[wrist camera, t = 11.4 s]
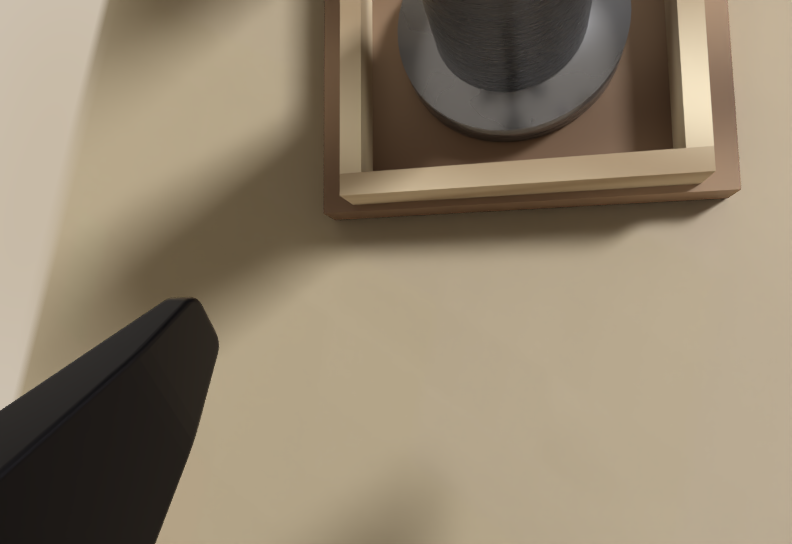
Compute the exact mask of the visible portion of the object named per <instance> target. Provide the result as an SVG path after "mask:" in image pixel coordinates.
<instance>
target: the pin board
mask: <svg viewBox="0 0 792 544" xmlns="http://www.w3.org/2000/svg"><path fill="white" fill-rule="evenodd" d="M401 4H402V0H325V44H324V214H325V215H327V216H329V217H331V218H333V219H334V220H342V219H360V218H378V217H396V216H414V215H432V214H450V213H468V212H486V211H504V210H522V209H540V208H559V207H577V206H595V205H613V204H631V203H649V202H667V201H685V200H703V199H721V198H729V197H730V196H732V195H733V194H735V193H736V192H738V191H739V190H741V180H740V166H739V152H738V138H737V124H736V111H735V97H734V83H733V69H732V55H731V41H730V27H729V13H728V0H631V22H630V28H629V32H628V37H627V40H626V44H625V47H624V50H623V53H622V56H621V59H620V62H619V64H618V67H617V69H616V72H615V74H614V76H613V78H612V79H611V81H610V83H609V85H608V86H607V88H606V89H605V91H604V92H603V93H602V95H601V96H600V97H599V98H598V100H597V101H596V102H595V103H594V104H593V105H592V106H591V107H590V108H589V109H588V110H587V111H586V112H584V113H583V114H582V115H581V116H580V117H578V118H577V119H575V120H574V121H572V122H571V123H569V124H568V125H566V126H565V127H563V128H561V129H559V130H556V131H554V132H552V133H550V134H547V135H544V136H541V137H539V138H535V139H530V140H526V141H520V142H509V143H504V142H489V141H483V140H478V139H474V138H471V137H468V136H465V135H463V134H460V133H458V132H456V131H454V130H452V129H451V128H449V127H447V126H446V125H444V124H443V123H441V122H440V121H439V120H438V119H437V118H435V117H434V116H433V115H432V114H431V113H430V112H429V111H428V109H427V108H426V107H425V106H424V105H423V103H422V102H421V100H420V99H419V97H418V96H417V94H416V92H415V90H414V88H413V86H412V84H411V82H410V79H409V77H408V75H407V73H406V71H405V69H404V66H403V63H402V60H401V56H400V52H399V46H398V19H399V12H400V8H401Z"/></svg>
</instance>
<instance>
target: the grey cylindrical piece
mask: <svg viewBox="0 0 792 544" xmlns="http://www.w3.org/2000/svg"><path fill="white" fill-rule="evenodd" d="M630 22H631V0H402V4H401V8H400V12H399V19H398V46H399V52H400V56H401V60H402V63H403V66H404V69H405V71H406V73H407V75H408V77H409V79H410V82H411V84H412V86H413V88H414V90H415V92H416V94H417V96H418V97H419V99H420V100H421V102H422V103H423V105H424V106H425V107H426V108H427V109H428V111H429V112H430V113H431V114H432V115H433V116H434V117H435V118H437V119H438V120H439V121H440V122H441V123H443V124H444V125H446V126H447V127H449V128H451V129H452V130H454V131H456V132H458V133H460V134H463V135H465V136H468V137H471V138H474V139H478V140H483V141H489V142H504V143H509V142H520V141H526V140H530V139H535V138H539V137H541V136H544V135H547V134H550V133H552V132H554V131H556V130H559V129H561V128H563V127H565V126H566V125H568V124H569V123H571V122H572V121H574V120H575V119H577V118H578V117H580V116H581V115H582V114H583V113H584V112H586V111H587V110H588V109H589V108H590V107H591V106H592V105H593V104H594V103H595V102H596V101H597V100H598V98H599V97H600V96H601V95H602V93H603V92H604V91H605V89H606V88H607V86H608V85H609V83H610V81H611V79H612V78H613V76H614V74H615V72H616V69H617V67H618V64H619V62H620V59H621V56H622V53H623V50H624V47H625V44H626V40H627V37H628V32H629V28H630Z"/></svg>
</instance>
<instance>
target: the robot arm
mask: <svg viewBox="0 0 792 544" xmlns="http://www.w3.org/2000/svg"><path fill="white" fill-rule="evenodd" d="M218 350H219V341H218V336H217V334H216V332H215V330H214V328H213V326H212V324H211V322H210V320H209V318H208V316H207V314H206V312H205V310H204V308H203V306H202V304H201V303H200V301H198V300H197V299H196V298H193V297H174V298H169V299H166V300H165V301H163V302H162V303H160V304H159V305H157V306H156V307H154V308H153V309H151V310H150V311H148V312H147V313H145V314H144V315H142V316H141V317H139V318H138V319H136V320H135V321H133V322H132V323H130V324H129V325H127V326H126V327H124V328H123V329H121V330H120V331H118V332H117V333H115V334H114V335H112V336H111V337H109V338H108V339H106V340H105V341H103V342H102V343H100V344H99V345H97V346H96V347H94V348H93V349H91V350H90V351H88V352H87V353H85V354H84V355H82V356H81V357H80V358H78V359H77V360H75V361H74V362H72V363H71V364H69V365H68V366H66V367H65V368H63V369H62V370H60V371H59V372H57V373H56V374H54V375H53V376H51V377H50V378H48V379H47V380H45V381H44V382H42V383H41V384H39V385H38V386H36V387H35V388H33V389H32V390H30V391H29V392H27V393H26V394H24V395H23V396H21V397H20V398H18V399H17V400H15V401H14V402H12V403H11V404H9V405H8V406H6V407H5V408H3V409H2V410H0V544H155V543H156V540H157V538H158V535H159V532H160V530H161V527H162V525H163V522H164V519H165V517H166V514H167V512H168V509H169V506H170V504H171V501H172V498H173V496H174V493H175V491H176V488H177V485H178V483H179V480H180V478H181V475H182V472H183V470H184V467H185V465H186V462H187V459H188V457H189V454H190V451H191V448H192V445H193V442H194V439H195V436H196V433H197V429H198V426H199V422H200V418H201V415H202V411H203V407H204V403H205V400H206V396H207V392H208V388H209V385H210V381H211V377H212V373H213V370H214V366H215V362H216V358H217V355H218Z"/></svg>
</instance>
